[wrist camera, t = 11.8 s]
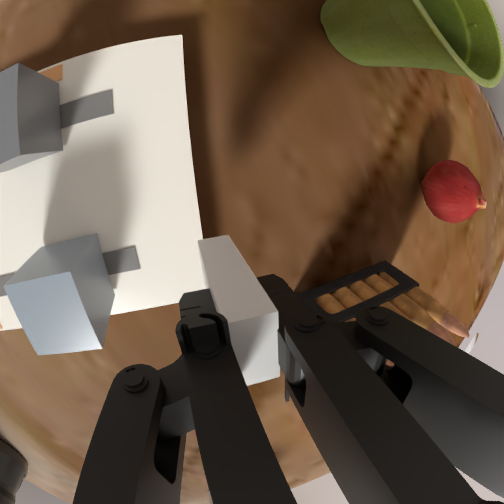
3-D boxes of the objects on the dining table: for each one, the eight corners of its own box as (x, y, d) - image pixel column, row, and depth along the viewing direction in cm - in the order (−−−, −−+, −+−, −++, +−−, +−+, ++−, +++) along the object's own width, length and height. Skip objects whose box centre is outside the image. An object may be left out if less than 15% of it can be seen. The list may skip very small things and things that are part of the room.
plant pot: (288, -37, 12) (365, -105, 2) (397, 6, 15) (484, -16, 5) (289, 76, 16) (407, 32, 6) (405, 106, 20) (511, 113, 10)
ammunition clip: (291, 313, 24) (368, 415, 13) (289, 296, 23) (372, 399, 12) (384, 276, 26) (471, 339, 15) (385, 260, 25) (478, 321, 15)
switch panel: (-37, 318, 14) (-50, 336, 11) (-79, 160, 8) (-99, 165, 5) (205, 275, 20) (212, 296, 17) (179, 51, 14) (182, 33, 11)
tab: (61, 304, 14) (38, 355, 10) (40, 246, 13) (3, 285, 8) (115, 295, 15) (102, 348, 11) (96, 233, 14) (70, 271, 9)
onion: (429, 145, 22) (494, 157, 15) (442, 191, 25) (500, 211, 18) (398, 173, 22) (469, 193, 15) (414, 221, 25) (475, 249, 18)
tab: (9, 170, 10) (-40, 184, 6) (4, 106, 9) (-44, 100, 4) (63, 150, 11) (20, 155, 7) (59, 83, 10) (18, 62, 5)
